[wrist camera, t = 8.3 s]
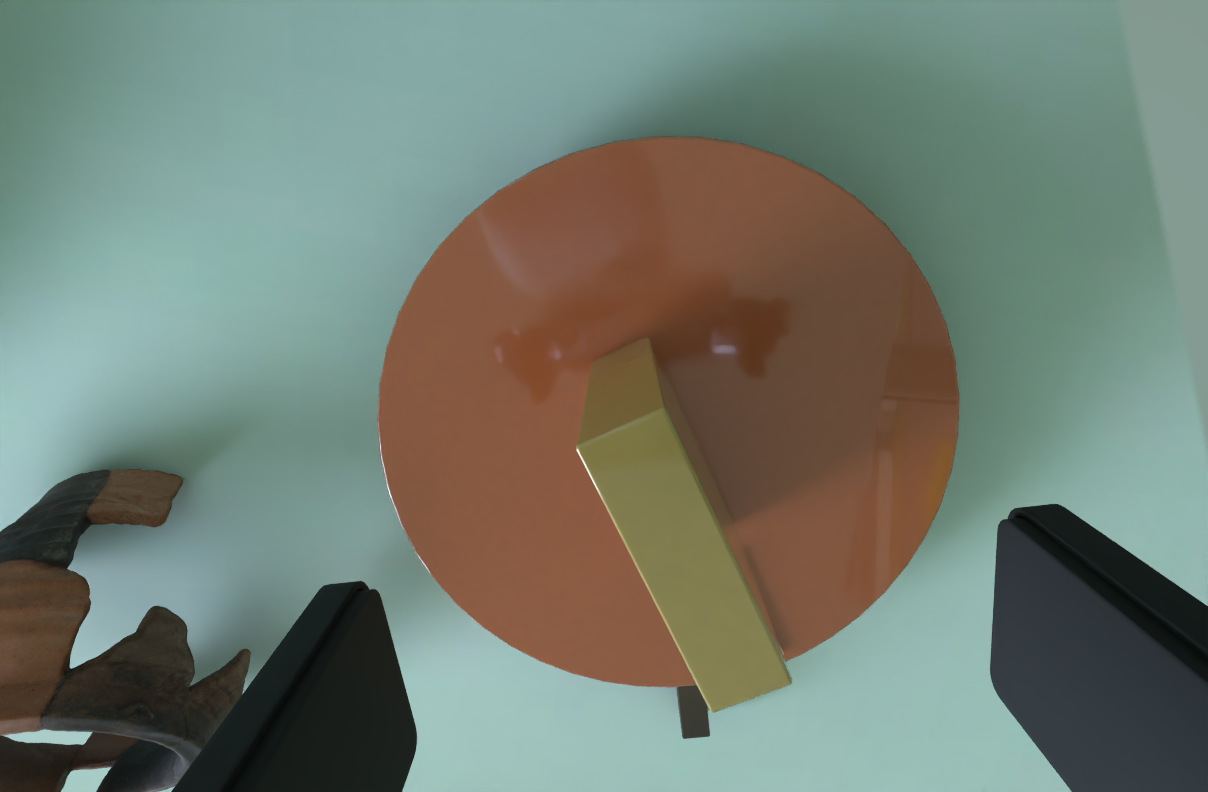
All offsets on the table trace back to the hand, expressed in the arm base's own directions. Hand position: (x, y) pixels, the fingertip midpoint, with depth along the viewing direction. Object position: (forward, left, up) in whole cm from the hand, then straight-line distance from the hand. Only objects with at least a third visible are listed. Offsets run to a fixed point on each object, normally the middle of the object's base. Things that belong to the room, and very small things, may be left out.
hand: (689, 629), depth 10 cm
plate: (+1, 0, -10) cm, 10 cm away
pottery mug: (+5, -20, -12) cm, 24 cm away
